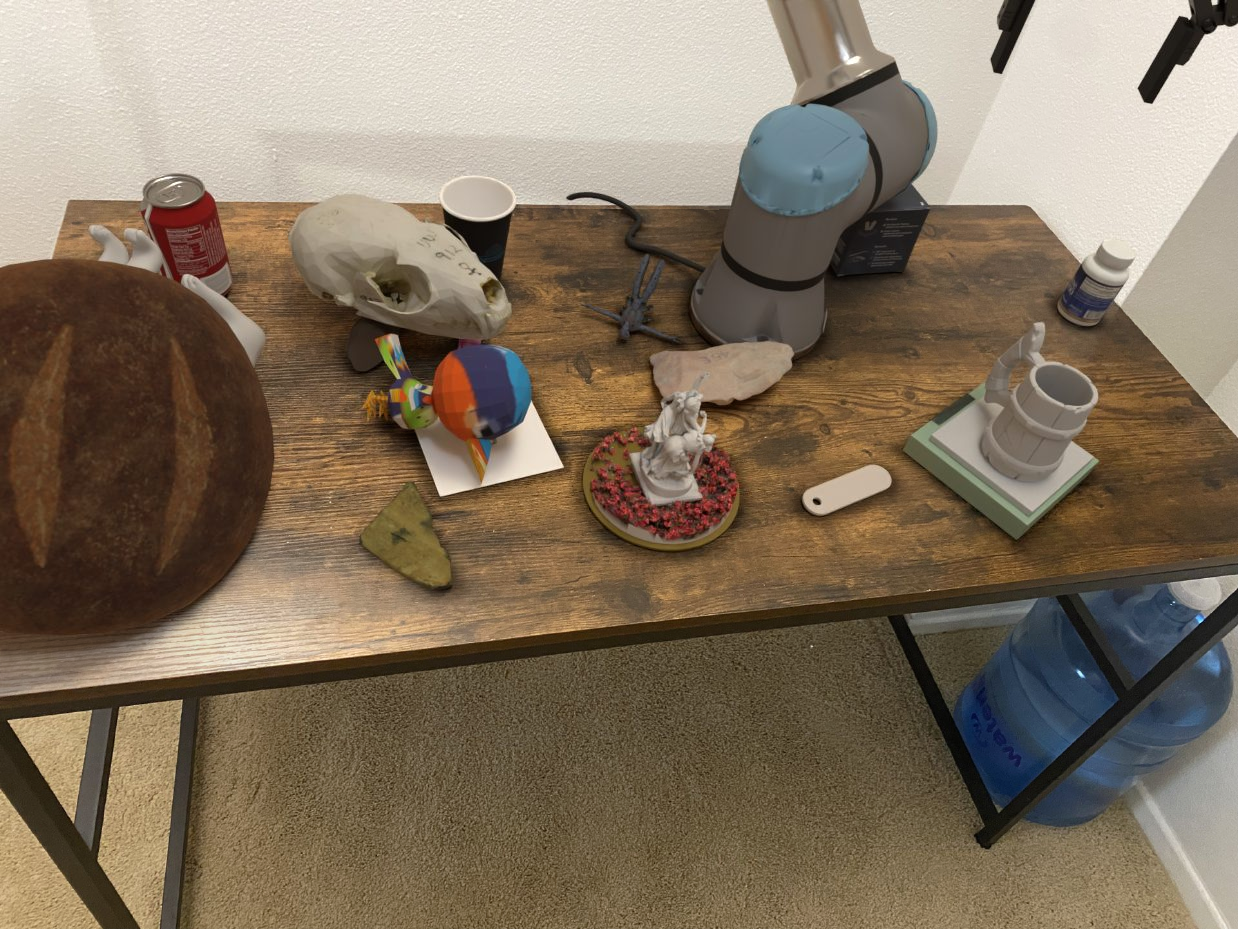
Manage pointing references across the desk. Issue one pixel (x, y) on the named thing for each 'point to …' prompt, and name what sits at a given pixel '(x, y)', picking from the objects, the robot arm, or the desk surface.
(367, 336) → the figurine
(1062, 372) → the mug
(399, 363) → the toy
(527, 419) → the thin white square sheet
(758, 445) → the desk surface
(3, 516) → the bread
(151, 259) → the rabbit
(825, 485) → the keychain
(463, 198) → the dixie cup
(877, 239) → the box
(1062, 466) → the scale
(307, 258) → the skull
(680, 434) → the figurine
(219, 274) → the soda can
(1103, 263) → the pill bottle
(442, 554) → the stone
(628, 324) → the figurine
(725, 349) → the stone tool
